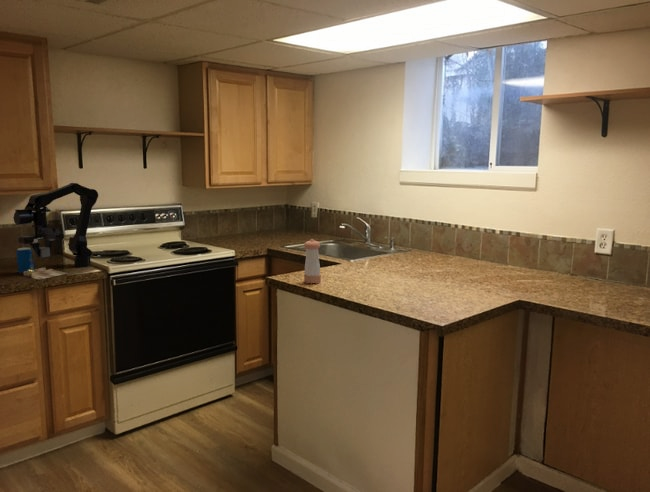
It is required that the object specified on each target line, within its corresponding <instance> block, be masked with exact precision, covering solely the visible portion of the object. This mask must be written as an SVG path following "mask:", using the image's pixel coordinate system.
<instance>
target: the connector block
mask: <svg viewBox="0 0 650 492" xmlns="http://www.w3.org/2000/svg"><path fill="white" fill-rule="evenodd" d="M39 250H40V257H39V258H46V257H47V258H48V257H50V256H51V250H50V248H49V247H45V246H39ZM36 257H37V258H38V256H37V255H36Z"/></svg>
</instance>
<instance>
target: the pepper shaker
mask: <svg viewBox="0 0 650 492" xmlns="http://www.w3.org/2000/svg"><path fill="white" fill-rule="evenodd" d="M303 247H304V249H305V262H304V263H305V264H304V274H303V283H304V282H306V283H305V284H307V283H318V284H320V283H321V282H322V281H321V280H322V279H321V277H322V276H321V265H320V258H319V257H320V256H319V249H321V244H320V242H319V241H317V240H315V239H313V238H311V239H310V240H308V241H306V242H304V244H303Z"/></svg>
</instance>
